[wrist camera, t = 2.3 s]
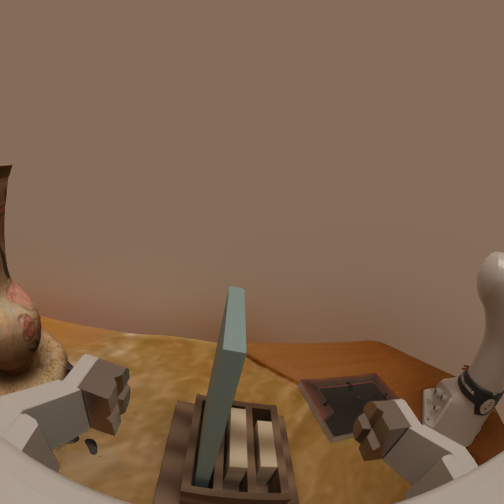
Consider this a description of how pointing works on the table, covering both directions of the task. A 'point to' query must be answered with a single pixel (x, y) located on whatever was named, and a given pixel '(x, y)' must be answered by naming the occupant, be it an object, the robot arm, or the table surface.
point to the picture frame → (343, 401)
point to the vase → (25, 332)
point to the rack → (214, 496)
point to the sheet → (222, 384)
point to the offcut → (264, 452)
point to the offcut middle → (235, 449)
